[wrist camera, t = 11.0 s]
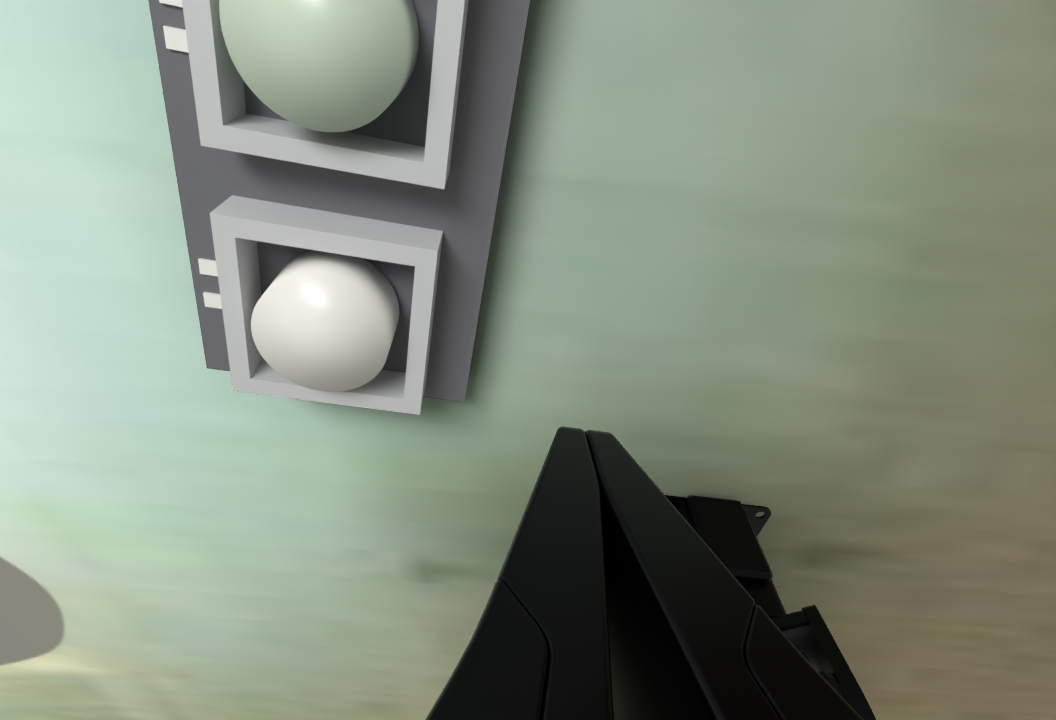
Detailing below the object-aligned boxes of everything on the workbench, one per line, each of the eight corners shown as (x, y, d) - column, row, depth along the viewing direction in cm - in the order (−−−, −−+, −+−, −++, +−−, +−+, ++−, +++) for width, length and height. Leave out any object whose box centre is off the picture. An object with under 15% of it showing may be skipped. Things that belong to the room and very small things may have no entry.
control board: (467, 378, 22) (461, 428, 20) (224, 345, 21) (186, 394, 19) (638, -681, 10) (681, -902, 7) (57, -908, 9) (-129, -1269, 6)
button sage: (412, 128, 15) (400, 146, 14) (260, 99, 15) (229, 114, 13) (425, -50, 13) (413, -53, 12) (247, -91, 13) (207, -100, 11)
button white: (395, 364, 20) (385, 399, 18) (277, 347, 19) (256, 382, 18) (403, 260, 18) (392, 290, 16) (270, 239, 17) (245, 267, 15)
